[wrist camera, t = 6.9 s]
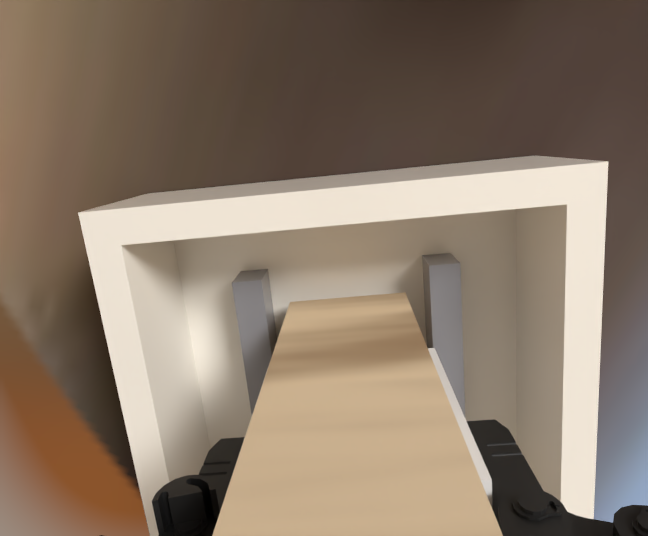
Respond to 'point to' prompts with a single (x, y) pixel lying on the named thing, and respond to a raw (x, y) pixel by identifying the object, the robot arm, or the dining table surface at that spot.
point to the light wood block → (354, 433)
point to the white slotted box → (361, 280)
